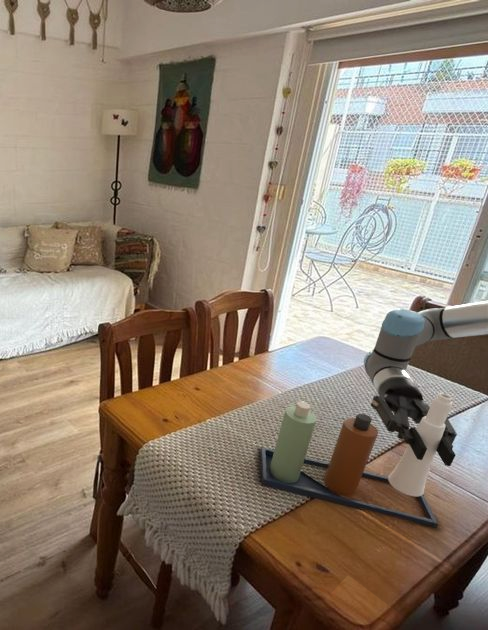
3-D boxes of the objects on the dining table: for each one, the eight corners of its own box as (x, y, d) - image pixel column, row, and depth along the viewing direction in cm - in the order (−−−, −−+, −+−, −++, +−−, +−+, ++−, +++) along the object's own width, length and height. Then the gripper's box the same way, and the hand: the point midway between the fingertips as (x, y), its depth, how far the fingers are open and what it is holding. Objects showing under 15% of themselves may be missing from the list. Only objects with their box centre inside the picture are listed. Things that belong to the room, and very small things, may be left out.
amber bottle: (360, 489, 94) (387, 419, 87) (346, 501, 91) (373, 430, 84) (331, 472, 99) (355, 404, 92) (318, 483, 96) (341, 414, 88)
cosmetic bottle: (384, 471, 94) (420, 384, 85) (417, 479, 92) (457, 390, 83) (393, 492, 88) (432, 401, 79) (428, 500, 87) (473, 408, 78)
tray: (414, 491, 95) (418, 483, 95) (434, 532, 86) (438, 523, 85) (259, 454, 105) (261, 446, 104) (261, 487, 95) (263, 479, 95)
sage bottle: (304, 475, 98) (325, 407, 90) (289, 487, 95) (310, 417, 87) (279, 460, 102) (297, 393, 95) (264, 470, 99) (282, 402, 92)
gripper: (434, 412, 100) (483, 485, 80) (351, 396, 105) (377, 460, 85) (446, 384, 97) (501, 452, 77) (360, 369, 102) (390, 429, 82)
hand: (436, 456), depth 81 cm, fingers closed on cosmetic bottle, 4 cm apart
